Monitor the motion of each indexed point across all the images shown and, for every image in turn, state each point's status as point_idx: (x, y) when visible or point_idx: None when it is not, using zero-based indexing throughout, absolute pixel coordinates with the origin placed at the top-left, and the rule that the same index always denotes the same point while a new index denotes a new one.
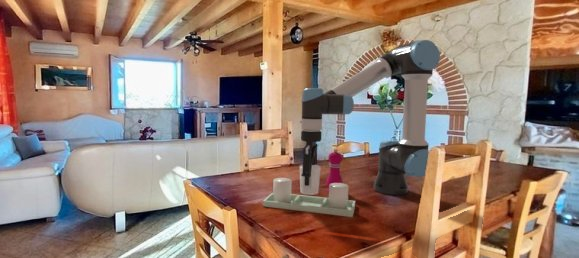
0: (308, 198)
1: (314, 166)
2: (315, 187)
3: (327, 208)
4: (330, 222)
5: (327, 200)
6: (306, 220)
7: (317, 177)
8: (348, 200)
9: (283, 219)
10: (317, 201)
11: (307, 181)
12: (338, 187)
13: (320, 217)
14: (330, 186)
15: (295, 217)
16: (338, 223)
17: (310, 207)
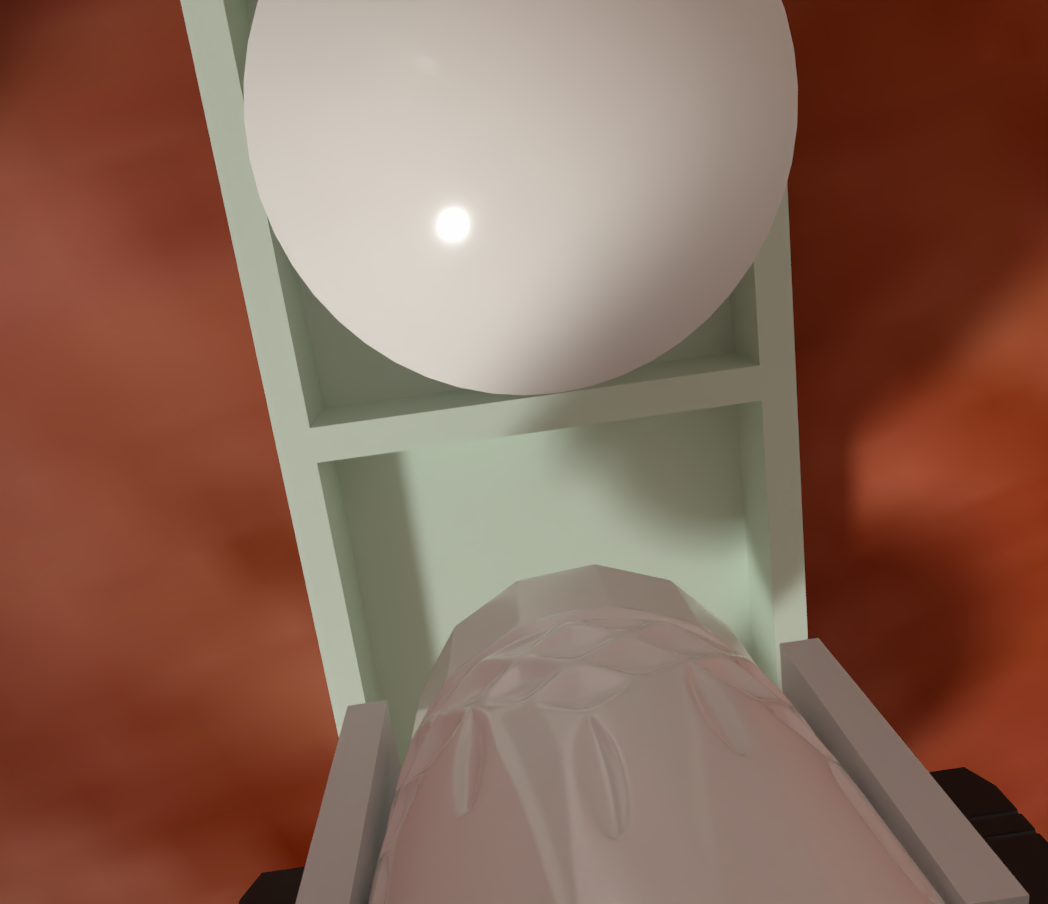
0: (373, 700)
1: None
2: (716, 645)
3: (790, 270)
4: (960, 152)
5: (312, 408)
6: (992, 464)
7: (778, 754)
8: (205, 18)
9: (1044, 706)
10: (350, 553)
11: (1041, 858)
12: (725, 79)
13: (832, 334)
14: (708, 315)
15: (941, 614)
16: (960, 32)
17: (796, 528)
